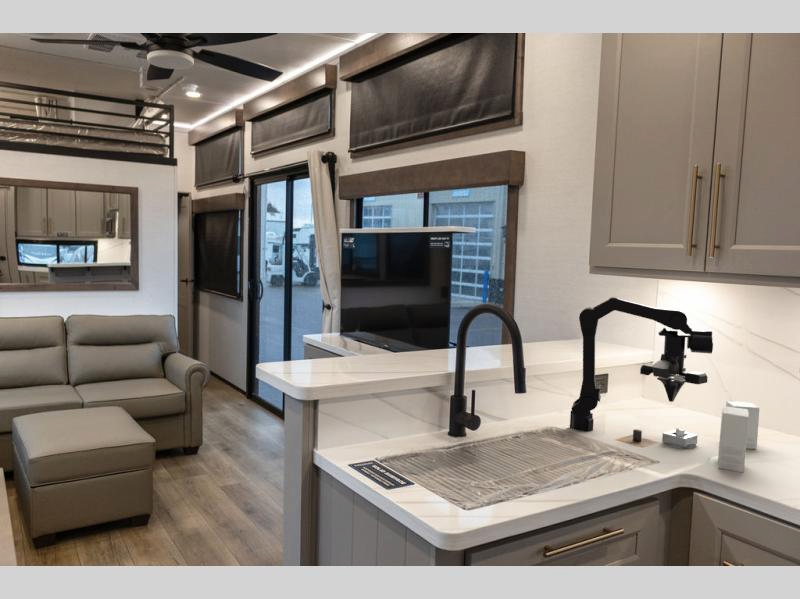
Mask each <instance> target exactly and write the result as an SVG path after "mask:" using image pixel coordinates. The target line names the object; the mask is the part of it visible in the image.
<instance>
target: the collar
mask: <svg viewBox="0 0 800 599" xmlns="http://www.w3.org/2000/svg"><path fill="white" fill-rule="evenodd" d="M661 441H662V443H663V442H666V443H669V444H673V445H677V446H680V447H684V448H685V447H688V446H691V445H694V444H696V445H697V444H698V434H695V433H691V432H687V431H685V435H684V436H683V437H682V436H678V435H676V429H672V430H668V431H665V432H663V433H662V440H661Z"/></svg>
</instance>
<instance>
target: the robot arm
mask: <svg viewBox="0 0 800 599" xmlns="http://www.w3.org/2000/svg"><path fill="white" fill-rule="evenodd" d="M614 311H617V312H620V313H625V314H628V315H632V316H635V317H640V318H644V319H647V320H651V321H655V322H657V323H658V324H661V325H662V326H664V327H663V328H662V329H661V330H660V331H659V332H658V335H659V336H660V337H664V343H663V344H664V345H663V346H664V347H663V353H661V356H660V359H659V360H658V361H657V362H655V363H648V364H642V365H641V366H640V371H639V373H640V375H644V376H650V375H651V374H652V376H653V377H655V378H656V379H657V381H660V382H661V383H662V385H663V387H664V389H665V392H666V395H667V399H668V402H671V403H673V402H674V401H675V400H676V397H677V395H678V393H679V392H680V390H681V389H682V387H683V386H684V385H685V383H686V384H687V383H688V384H691V385H703V384H706V383H708V377H709V376H708V375H707V373H705V372H702V371H701V372H700V371H695V370H694V371H688V372H686V367H685V359H686V358H687V354H685V350H686V349H689V350H690V353H697V354H700V353H701V354H708V355H709V354H711V355H712V353H713V349H714V342H713V331H712V330H708V329H707V330H695V329H694V330H693V328H692V327H691V326H689V325H688V318H687V315H686V313H684V312H683V311H682V310H680V309H677V308H663V307H662V308H661V307H653V306H650V305H646V304H641V303H637V302H634V301H629V300H625V299H621V298H618V297H617V296H611V297H610V298H608V299H607V300H605V301H603V302H601V303H600V304H597V305H596V306H594V307H590V306H589V307H585V308H583V309H582V311H581V312H580V313H579V317H578V320H579V326H580V331H581V334H582V383H581V388H580V393H579V397H578V398H577V399H576V400H575V401H573V404H572V406H571V410H570V418H569V427H567V428H566V430H569V429H573V430H575V431H580V432H588V433H590V432H593V431H594V420H595V419H594V418H593V415H594V413H592V412H591V411H593V410H595V409H596V408H597V406H598V403H601V393H600V392H601V384H597V383H596V335H597V329H598V325H599V320H600V319H602V318H604V317H605V316H607V315H609V314H610V313H612V312H614ZM666 327H668V328H669V329H672V330H669V329H667V328H666ZM678 331H680V332H682V333H679V332H678ZM683 333H684V334H683ZM686 338H687V339H686ZM686 341H687V342H686ZM685 346H686V347H685Z"/></svg>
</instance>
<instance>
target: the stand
mask: <svg viewBox="0 0 800 599" xmlns="http://www.w3.org/2000/svg"><path fill="white" fill-rule="evenodd" d="M632 432H633V434H630V435H627V436H623V437H620V438H616V439H615V441H617V442H620V443H621V442H622V443H625V444H629V445H631V446H632V445H633V446H636V447H639V448H646V447H648V446H653V445H655V444H659V443H660V442H659V441H656V440H652V439H648V438H645V437H642V434H643V433H642V432H643V431H642V429H633V430H632Z"/></svg>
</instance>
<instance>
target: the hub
mask: <svg viewBox="0 0 800 599" xmlns="http://www.w3.org/2000/svg"><path fill="white" fill-rule="evenodd" d="M675 430H676V435H678V436H682V437H683V436H684V435H685V432H686V430H685V429H684V428H681V427H678V428H675ZM662 443H663V444H664V445H665V446H668V447H670V448H673V449H674V448H675V449H679V450H680V449H681V450H694V449H696V448H697V444H694V445H691V446H688V447H685V448H684V447H680V446H677V445H673V444H669V443H666V442H662Z"/></svg>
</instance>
